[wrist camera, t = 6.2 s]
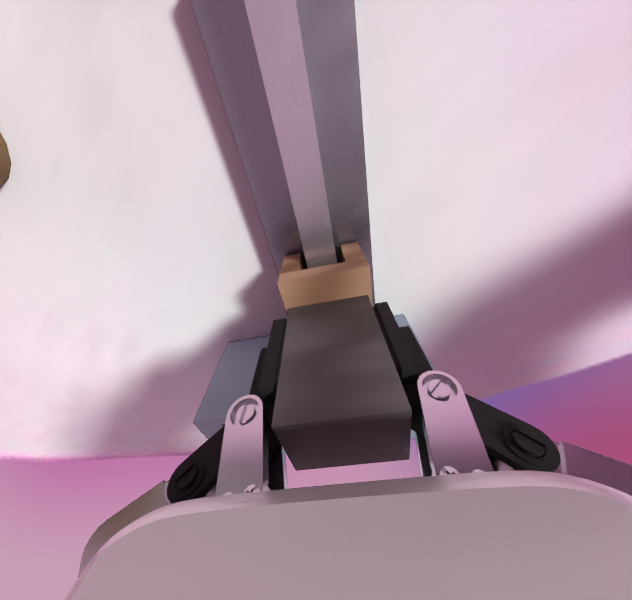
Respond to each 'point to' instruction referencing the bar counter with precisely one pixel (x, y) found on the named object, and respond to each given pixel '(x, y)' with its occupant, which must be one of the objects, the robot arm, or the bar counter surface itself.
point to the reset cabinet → (239, 381)
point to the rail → (329, 112)
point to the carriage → (337, 370)
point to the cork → (4, 161)
